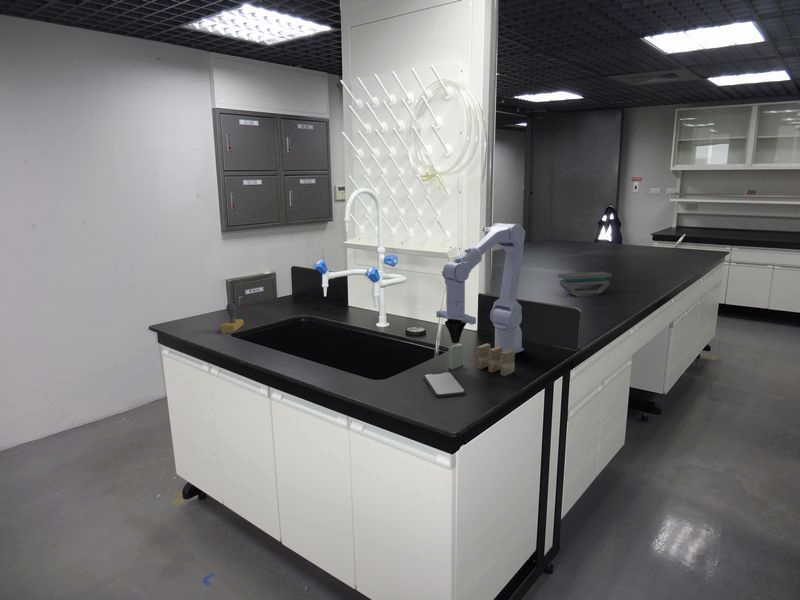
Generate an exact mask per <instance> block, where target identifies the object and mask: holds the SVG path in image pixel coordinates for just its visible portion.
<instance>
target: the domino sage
mask: <svg viewBox="0 0 800 600" xmlns="http://www.w3.org/2000/svg"><path fill="white" fill-rule="evenodd" d="M463 349H464V344H462V343H456V344H454V345H451V346H449V347H448V369H450V370H455V369H457V367H458V368H460V367H462V365H463V363H464V362H463V361H464V354H463V353H464V350H463ZM459 366H460V367H459ZM463 366H464V365H463ZM454 368H455V369H454Z"/></svg>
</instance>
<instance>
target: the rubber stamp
mask: <svg viewBox="0 0 800 600" xmlns="http://www.w3.org/2000/svg"><path fill="white" fill-rule="evenodd" d="M225 309H226V311H227V314H228V315H229V320H227V321H226V322H224V323H222V324H221V325H220V330H221V331H235V330H237V329H238V328H240V327H241V326H242V325H244V320H243V318H242V319H238V318H237V319H235V318H234V316H235V312H236V305H235V304H234V303H233V302H228V303H227V304H226V307H225ZM244 326H245V325H244ZM221 331H220V332H221Z"/></svg>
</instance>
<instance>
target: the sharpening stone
mask: <svg viewBox="0 0 800 600" xmlns="http://www.w3.org/2000/svg"><path fill="white" fill-rule="evenodd" d="M612 276H613V275H612V273H610V272H606V271H591V272H572V273H571V272H570V273H569V272H568V273H557V278H560V279H561V280H559V286H561V287H562V289H564V290H565V292H567V291H568V292H570V293H573V294H585V293H600V294H602V292H603V291H605V289H606V288H607V287H609V286H610V280H608V279H606V278H612ZM576 286H590V287H580V288H578V287H577V288H575V287H576ZM568 292H567V293H568Z"/></svg>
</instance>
